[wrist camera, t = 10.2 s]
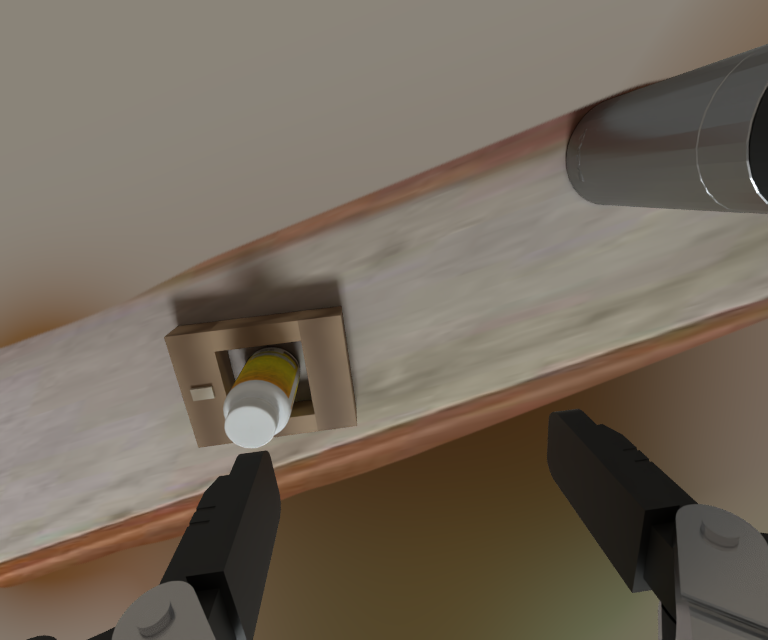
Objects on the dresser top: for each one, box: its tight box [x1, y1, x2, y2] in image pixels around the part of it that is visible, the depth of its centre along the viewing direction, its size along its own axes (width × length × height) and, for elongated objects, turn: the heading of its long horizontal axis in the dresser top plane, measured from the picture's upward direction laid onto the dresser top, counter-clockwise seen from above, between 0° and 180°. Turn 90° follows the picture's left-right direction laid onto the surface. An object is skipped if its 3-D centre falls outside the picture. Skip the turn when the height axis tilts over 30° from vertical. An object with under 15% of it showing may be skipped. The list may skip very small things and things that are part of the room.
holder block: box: [164, 306, 357, 448], centre depth 38 cm, size 16×12×3 cm
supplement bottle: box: [223, 347, 300, 448], centre depth 35 cm, size 6×6×10 cm
